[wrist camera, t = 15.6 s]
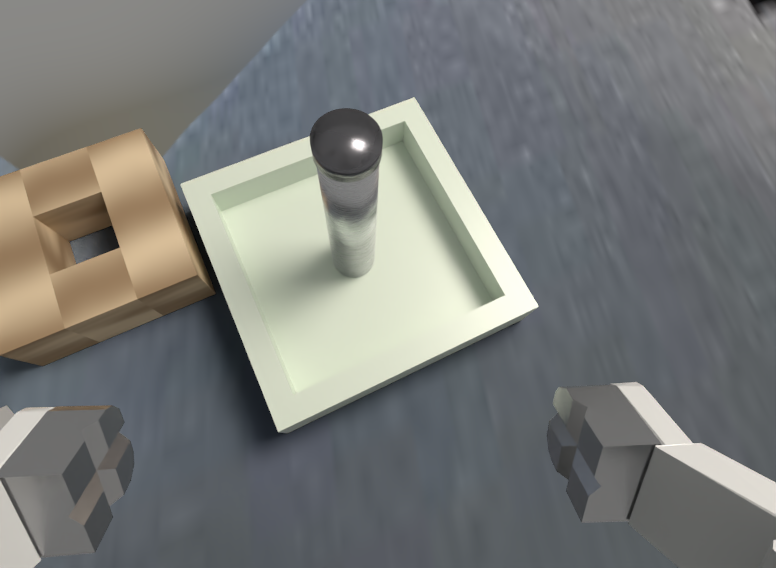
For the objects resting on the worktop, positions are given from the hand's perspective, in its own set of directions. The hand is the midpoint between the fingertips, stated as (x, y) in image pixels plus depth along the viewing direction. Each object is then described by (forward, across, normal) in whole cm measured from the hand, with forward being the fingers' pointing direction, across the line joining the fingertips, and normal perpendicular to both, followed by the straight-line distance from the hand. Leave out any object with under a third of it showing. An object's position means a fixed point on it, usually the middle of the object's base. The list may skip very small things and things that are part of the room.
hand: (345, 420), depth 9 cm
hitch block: (+26, +18, +7) cm, 32 cm away
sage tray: (+25, 0, +8) cm, 26 cm away
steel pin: (+24, 0, +7) cm, 26 cm away
